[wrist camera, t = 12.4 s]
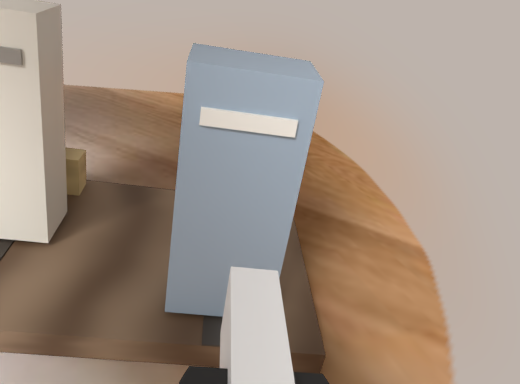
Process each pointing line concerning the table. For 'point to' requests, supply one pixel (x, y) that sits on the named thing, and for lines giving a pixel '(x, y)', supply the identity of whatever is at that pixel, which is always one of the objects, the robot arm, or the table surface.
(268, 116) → the light blue tall block
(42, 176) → the key cream
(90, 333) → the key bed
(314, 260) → the table surface
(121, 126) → the table surface
